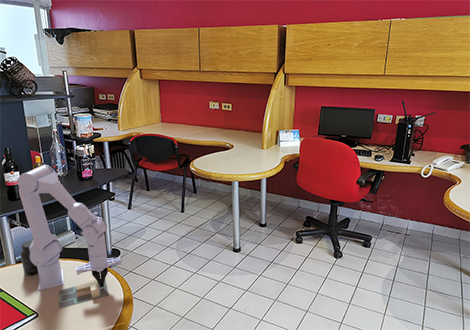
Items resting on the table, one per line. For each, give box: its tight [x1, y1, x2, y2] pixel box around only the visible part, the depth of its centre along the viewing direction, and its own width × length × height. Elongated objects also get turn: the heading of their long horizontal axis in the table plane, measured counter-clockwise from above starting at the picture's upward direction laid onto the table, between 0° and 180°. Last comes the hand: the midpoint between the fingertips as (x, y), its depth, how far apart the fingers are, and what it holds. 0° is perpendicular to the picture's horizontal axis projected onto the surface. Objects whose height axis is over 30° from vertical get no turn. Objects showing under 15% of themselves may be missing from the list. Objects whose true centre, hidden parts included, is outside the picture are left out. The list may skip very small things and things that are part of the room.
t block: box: [75, 276, 100, 298], centre depth 122 cm, size 8×7×3 cm
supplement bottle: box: [20, 240, 39, 277], centre depth 132 cm, size 7×7×12 cm
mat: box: [58, 280, 109, 310], centre depth 122 cm, size 10×16×1 cm, turn 116°
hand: (101, 285), depth 124 cm, fingers closed
